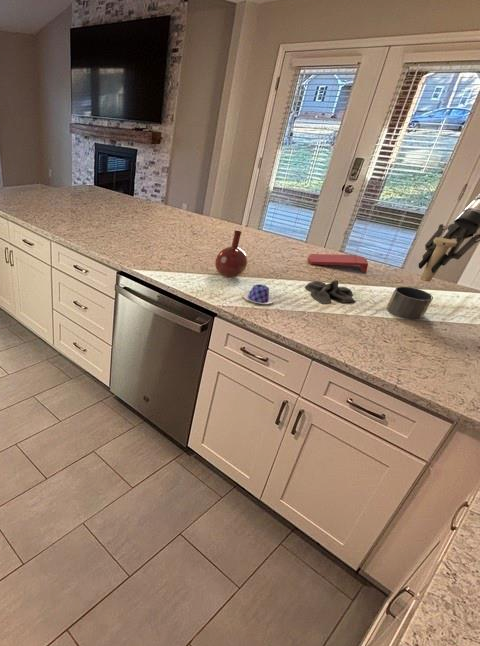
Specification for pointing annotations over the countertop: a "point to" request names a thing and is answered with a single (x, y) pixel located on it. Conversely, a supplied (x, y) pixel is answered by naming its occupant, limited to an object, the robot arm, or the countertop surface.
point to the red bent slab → (338, 260)
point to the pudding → (259, 294)
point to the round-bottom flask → (231, 259)
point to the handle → (436, 256)
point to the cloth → (329, 292)
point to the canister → (409, 303)
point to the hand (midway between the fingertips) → (426, 268)
